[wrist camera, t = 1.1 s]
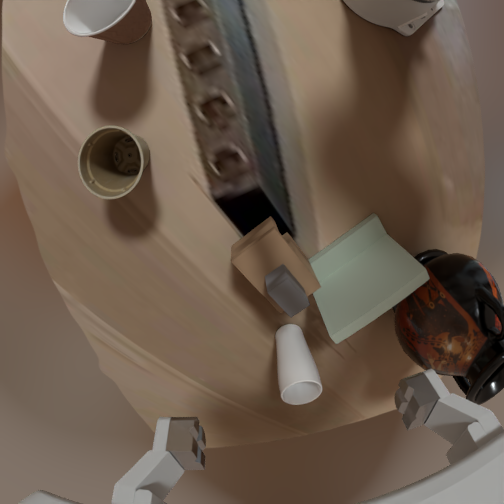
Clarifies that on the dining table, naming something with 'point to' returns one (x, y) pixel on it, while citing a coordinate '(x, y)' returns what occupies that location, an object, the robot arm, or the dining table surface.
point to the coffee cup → (108, 19)
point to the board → (363, 277)
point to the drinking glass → (296, 367)
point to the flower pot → (112, 161)
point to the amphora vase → (455, 324)
